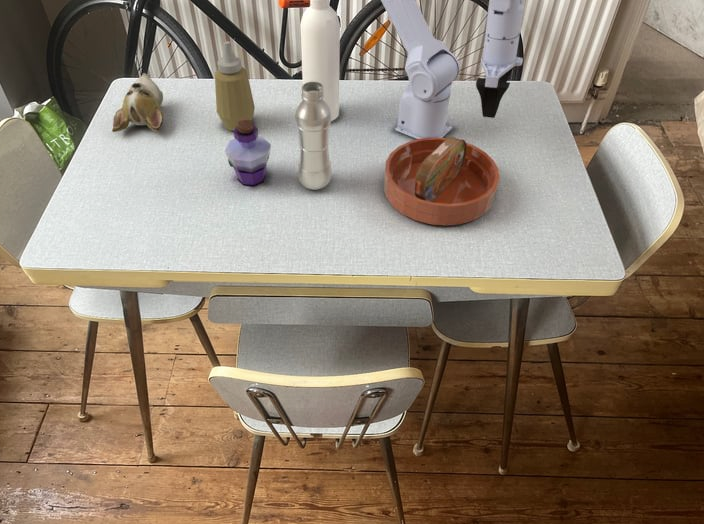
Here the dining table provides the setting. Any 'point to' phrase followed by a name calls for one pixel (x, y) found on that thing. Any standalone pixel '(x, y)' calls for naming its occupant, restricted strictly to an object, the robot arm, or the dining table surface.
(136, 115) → the ceramic sculpture
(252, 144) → the potion bottle
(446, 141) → the tin
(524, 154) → the dining table surface
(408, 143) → the bowl
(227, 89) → the squeeze bottle
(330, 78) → the bottle
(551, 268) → the dining table surface
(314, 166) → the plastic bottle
